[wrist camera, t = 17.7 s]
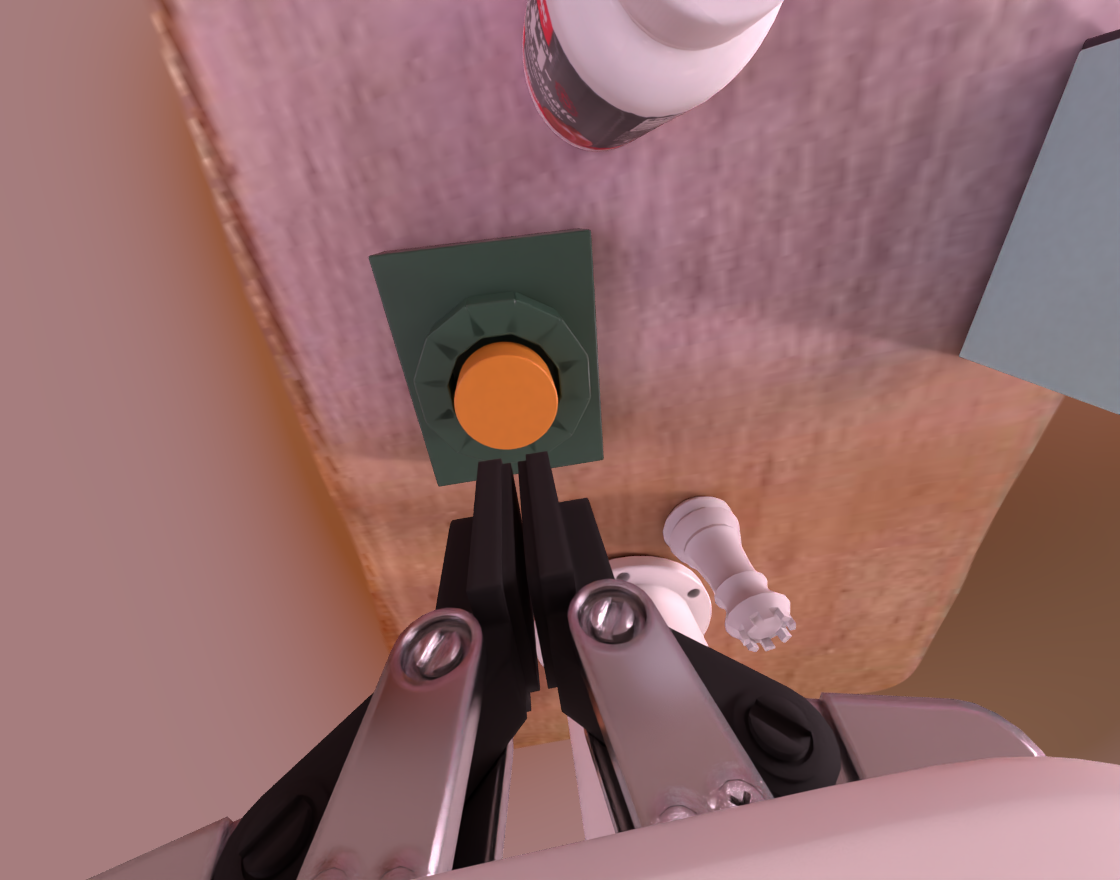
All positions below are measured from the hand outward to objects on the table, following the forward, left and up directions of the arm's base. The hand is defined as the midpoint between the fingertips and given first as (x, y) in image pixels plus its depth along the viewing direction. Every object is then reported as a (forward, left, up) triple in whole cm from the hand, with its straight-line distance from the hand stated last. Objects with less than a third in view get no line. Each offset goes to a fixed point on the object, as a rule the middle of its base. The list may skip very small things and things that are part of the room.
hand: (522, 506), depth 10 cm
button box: (+1, 0, -10) cm, 10 cm away
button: (+1, 0, -7) cm, 7 cm away
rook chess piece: (-11, -10, -11) cm, 18 cm away
